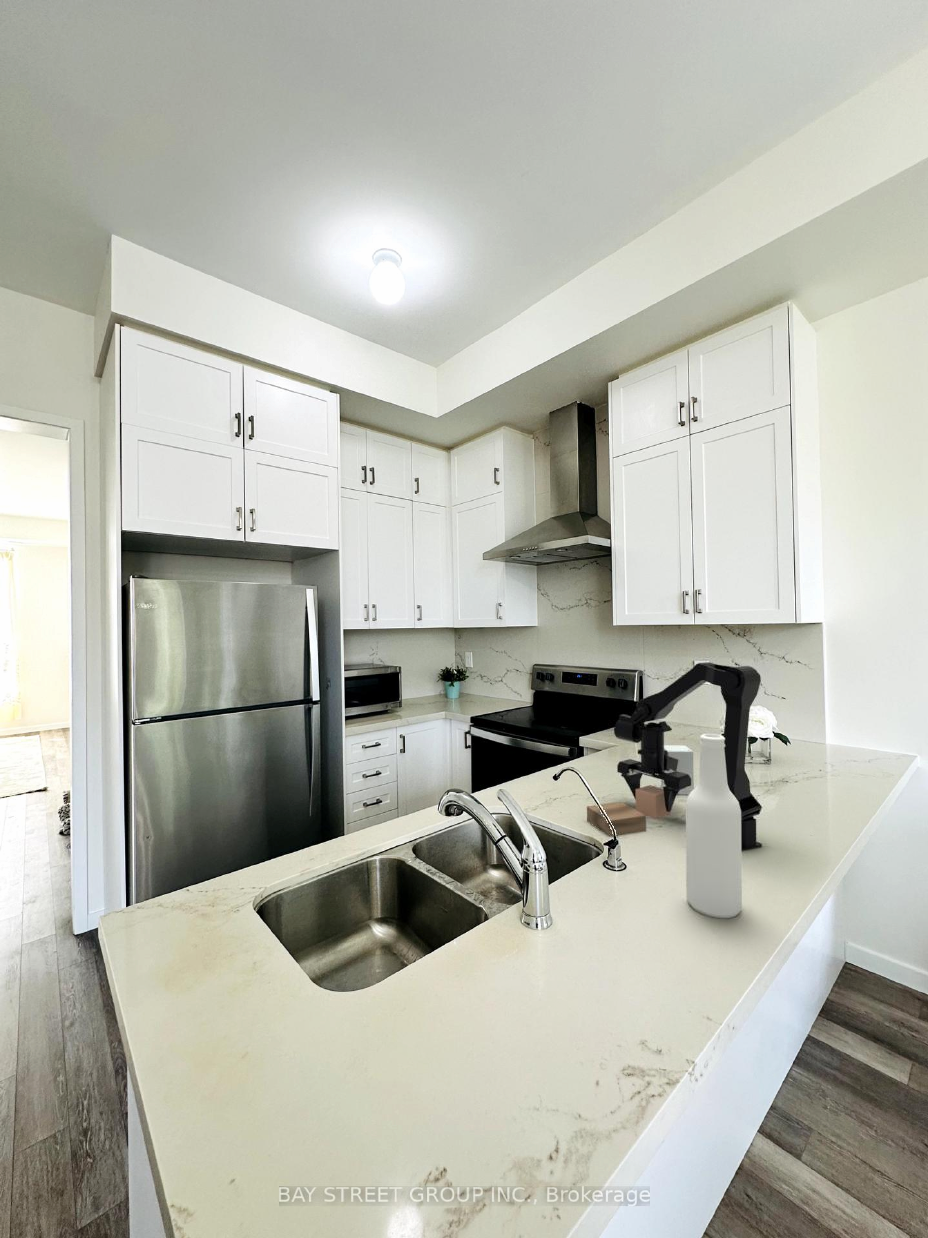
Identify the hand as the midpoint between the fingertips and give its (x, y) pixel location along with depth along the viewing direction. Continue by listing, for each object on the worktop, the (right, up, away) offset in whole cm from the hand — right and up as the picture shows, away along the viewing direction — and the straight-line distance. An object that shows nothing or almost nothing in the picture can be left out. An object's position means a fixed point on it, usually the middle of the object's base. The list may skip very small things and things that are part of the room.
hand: (652, 806), depth 138 cm
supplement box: (+13, -2, +17) cm, 22 cm away
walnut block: (-12, -2, -8) cm, 15 cm away
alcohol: (-5, -2, -45) cm, 45 cm away
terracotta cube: (0, -2, 0) cm, 2 cm away
